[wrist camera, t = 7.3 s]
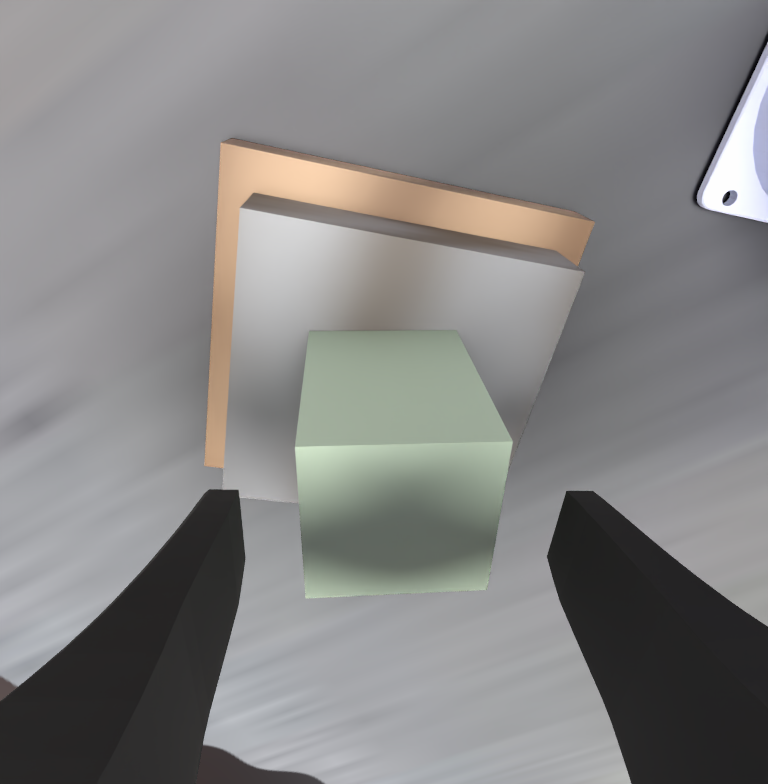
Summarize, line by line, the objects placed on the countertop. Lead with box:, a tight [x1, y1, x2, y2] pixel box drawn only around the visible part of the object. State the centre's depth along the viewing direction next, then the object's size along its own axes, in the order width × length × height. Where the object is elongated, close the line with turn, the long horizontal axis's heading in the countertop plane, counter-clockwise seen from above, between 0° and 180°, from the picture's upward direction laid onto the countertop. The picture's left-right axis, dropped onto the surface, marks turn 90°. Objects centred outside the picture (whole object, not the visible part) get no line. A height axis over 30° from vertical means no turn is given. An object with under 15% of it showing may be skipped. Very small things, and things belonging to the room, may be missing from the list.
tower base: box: [205, 138, 595, 468], centre depth 20 cm, size 12×12×2 cm
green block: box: [295, 330, 513, 598], centre depth 14 cm, size 4×4×6 cm
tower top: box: [222, 193, 585, 503], centre depth 18 cm, size 10×10×2 cm
